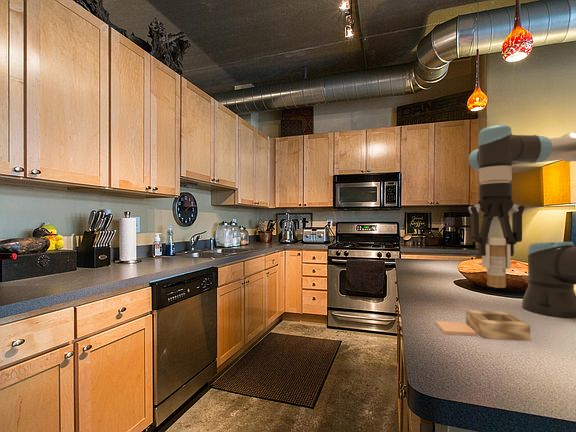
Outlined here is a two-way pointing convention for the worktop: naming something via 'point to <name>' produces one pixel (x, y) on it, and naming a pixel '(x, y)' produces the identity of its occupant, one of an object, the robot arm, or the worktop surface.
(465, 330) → the terracotta tile
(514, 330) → the socket block
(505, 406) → the worktop surface
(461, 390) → the worktop surface
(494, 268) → the sprinkles bottle
